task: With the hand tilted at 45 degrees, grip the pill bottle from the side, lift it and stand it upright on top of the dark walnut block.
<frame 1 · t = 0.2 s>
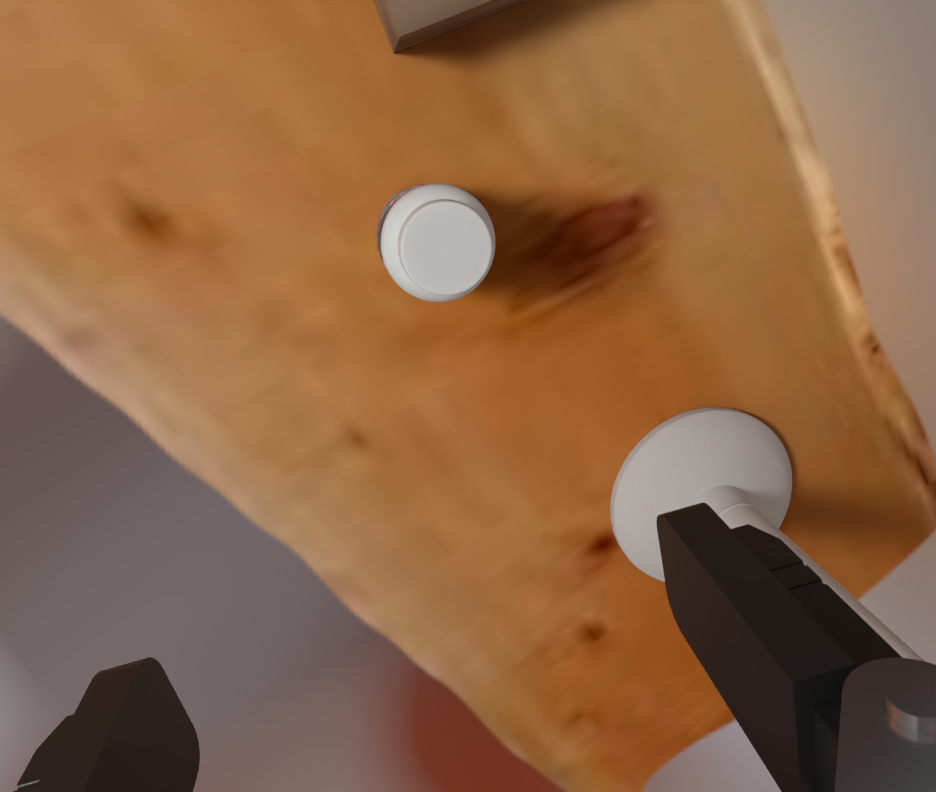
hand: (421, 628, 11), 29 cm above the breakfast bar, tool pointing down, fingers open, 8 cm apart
grey pole stand: (698, 495, 46), on the breakfast bar
pill bottle: (423, 234, 38), on the breakfast bar
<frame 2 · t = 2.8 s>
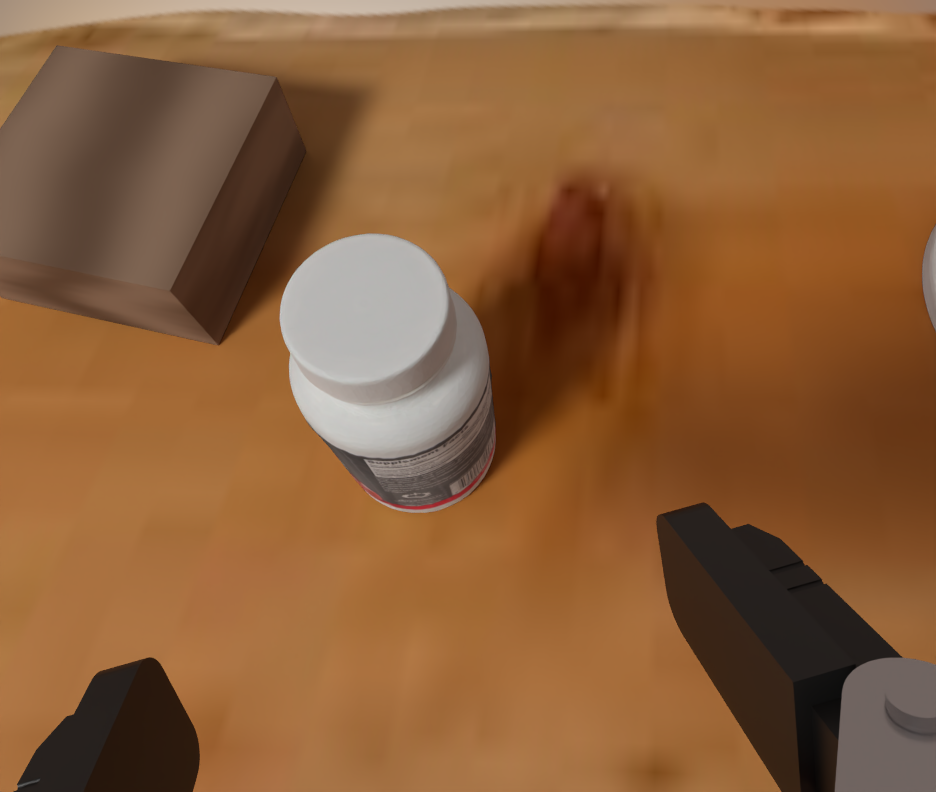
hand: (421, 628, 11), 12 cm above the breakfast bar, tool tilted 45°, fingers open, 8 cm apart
walnut base: (159, 221, 29), on the breakfast bar
pill bottle: (423, 445, 25), on the breakfast bar
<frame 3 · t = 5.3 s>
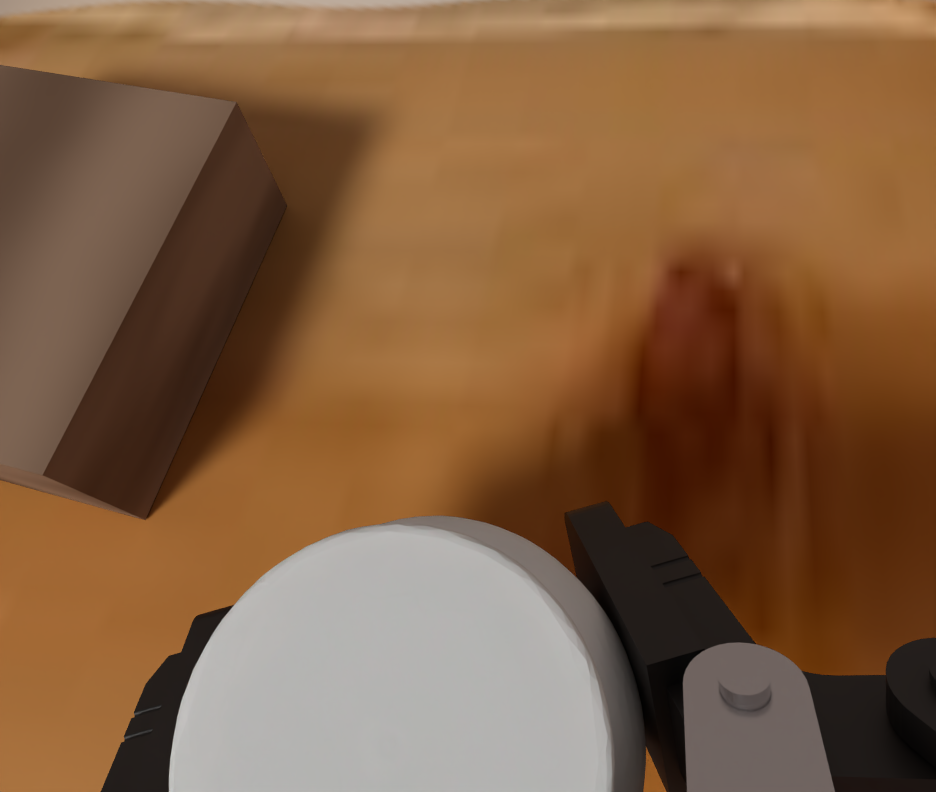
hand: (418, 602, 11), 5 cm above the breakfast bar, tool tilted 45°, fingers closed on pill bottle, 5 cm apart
walnut base: (67, 312, 20), on the breakfast bar
pill bottle: (468, 707, 15), on the breakfast bar, touching gripper
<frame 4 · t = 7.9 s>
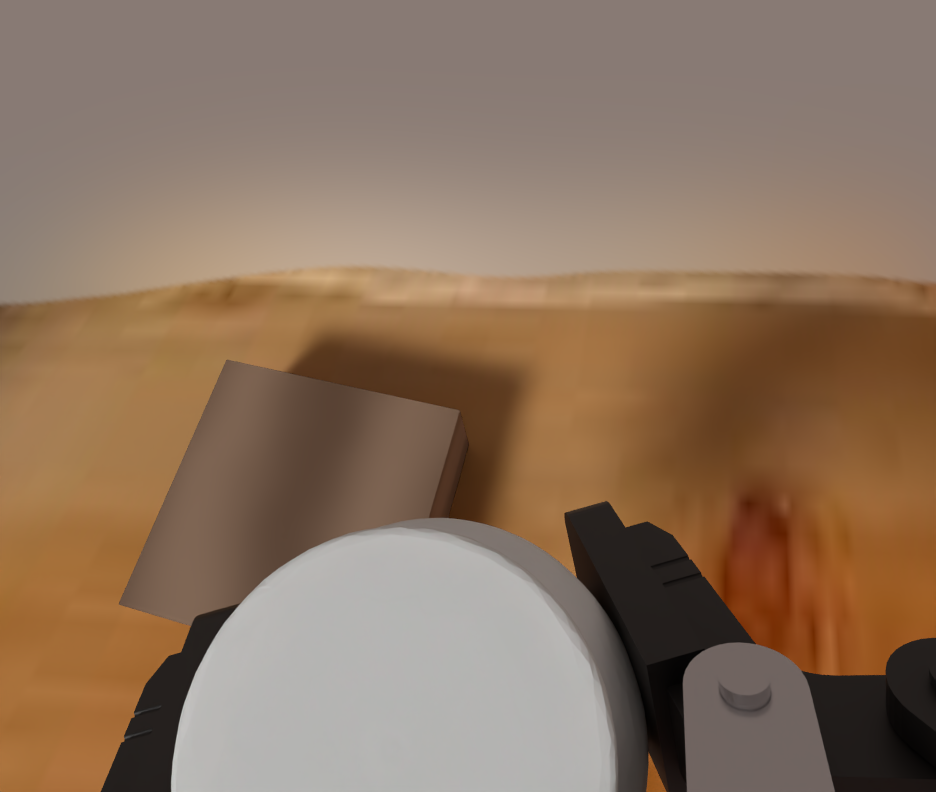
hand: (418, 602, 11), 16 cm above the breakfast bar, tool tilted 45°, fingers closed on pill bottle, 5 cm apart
walnut base: (325, 527, 29), on the breakfast bar
pill bottle: (469, 708, 15), point 12 cm above the breakfast bar, touching gripper
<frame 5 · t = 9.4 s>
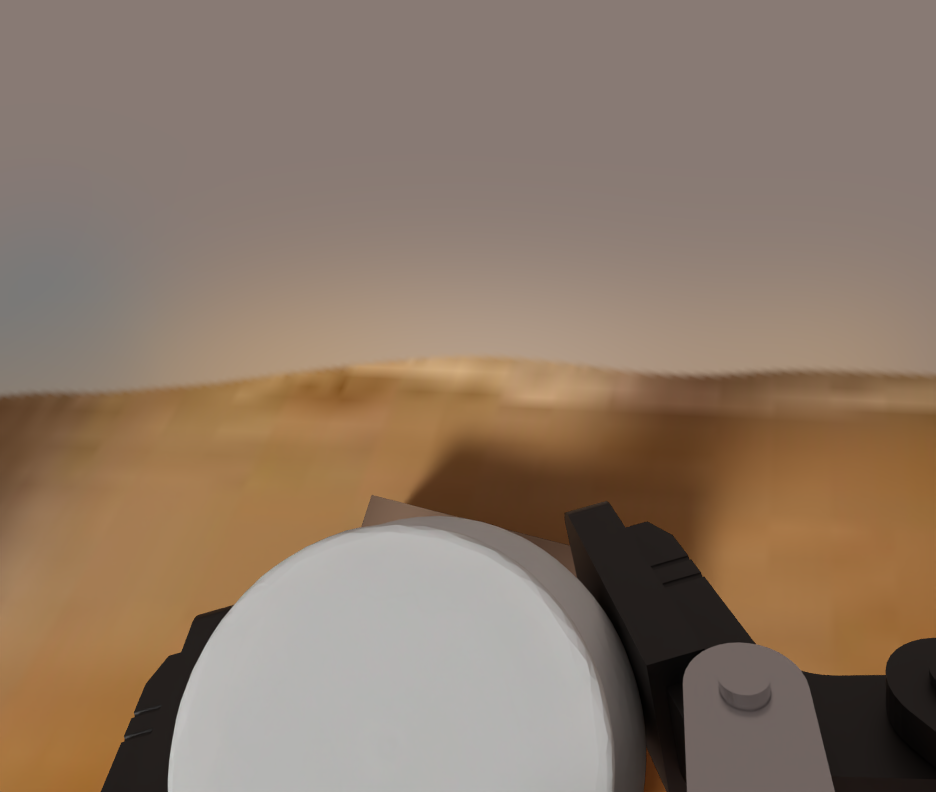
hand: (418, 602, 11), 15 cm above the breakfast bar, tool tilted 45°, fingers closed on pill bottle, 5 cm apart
walnut base: (482, 690, 24), on the breakfast bar
pill bottle: (468, 707, 15), point 10 cm above the breakfast bar, touching gripper
when the fingers open (10 cm above the breakfast bar, at t = 10.8 s): pill bottle drops 1 cm, resting on walnut base.
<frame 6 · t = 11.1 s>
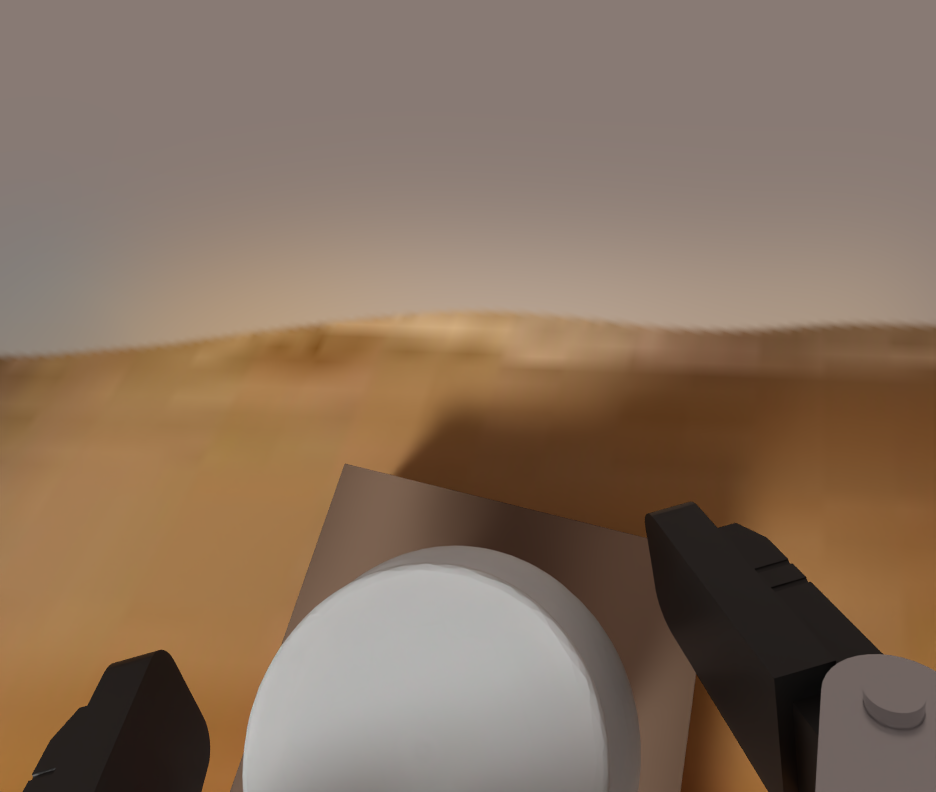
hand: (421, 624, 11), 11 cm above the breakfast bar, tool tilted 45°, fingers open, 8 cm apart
walnut base: (480, 701, 20), on the breakfast bar
pill bottle: (482, 711, 16), point 4 cm above the breakfast bar, touching walnut base
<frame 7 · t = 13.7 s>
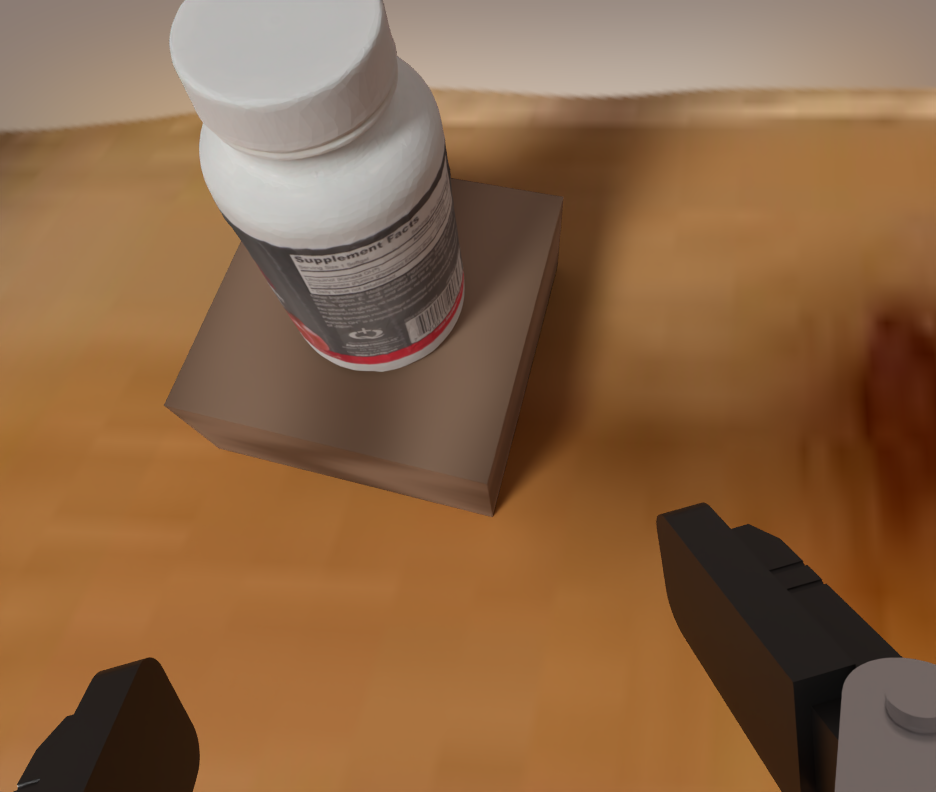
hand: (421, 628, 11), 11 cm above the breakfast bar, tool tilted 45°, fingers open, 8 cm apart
walnut base: (394, 353, 25), on the breakfast bar
pill bottle: (382, 302, 21), point 4 cm above the breakfast bar, touching walnut base
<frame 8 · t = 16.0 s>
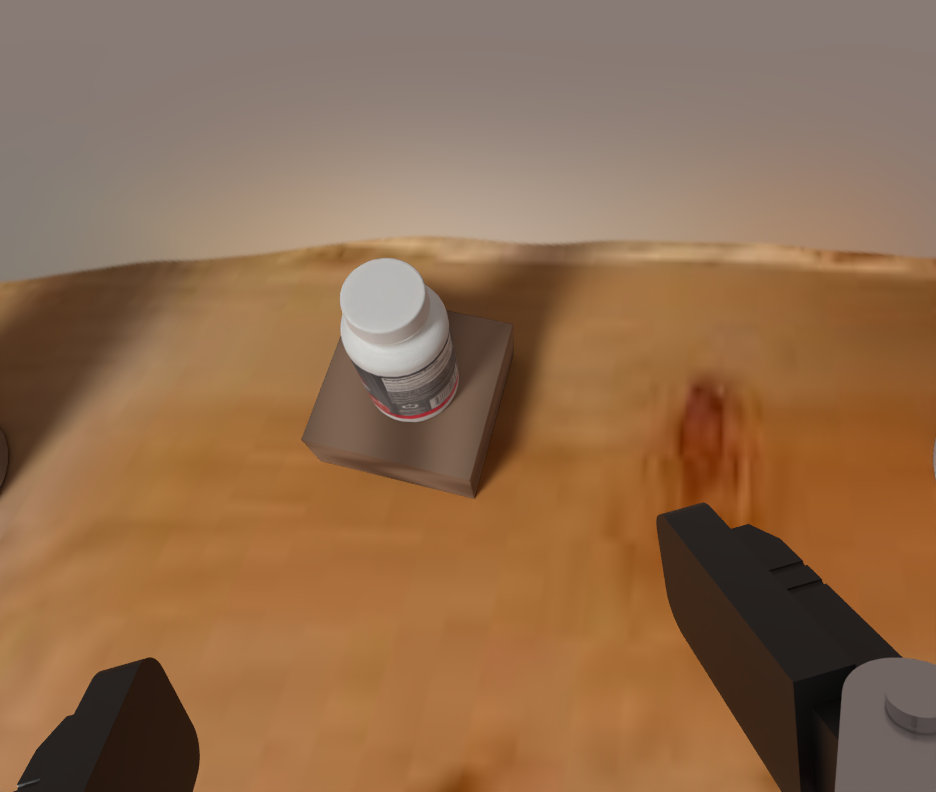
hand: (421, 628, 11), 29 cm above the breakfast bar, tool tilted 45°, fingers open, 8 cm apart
walnut base: (419, 406, 43), on the breakfast bar
pill bottle: (414, 383, 40), point 4 cm above the breakfast bar, touching walnut base
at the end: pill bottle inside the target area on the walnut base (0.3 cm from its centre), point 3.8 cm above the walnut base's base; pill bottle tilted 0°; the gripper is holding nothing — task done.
